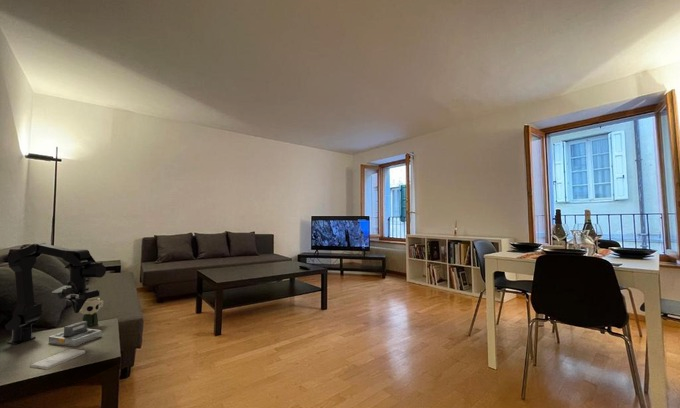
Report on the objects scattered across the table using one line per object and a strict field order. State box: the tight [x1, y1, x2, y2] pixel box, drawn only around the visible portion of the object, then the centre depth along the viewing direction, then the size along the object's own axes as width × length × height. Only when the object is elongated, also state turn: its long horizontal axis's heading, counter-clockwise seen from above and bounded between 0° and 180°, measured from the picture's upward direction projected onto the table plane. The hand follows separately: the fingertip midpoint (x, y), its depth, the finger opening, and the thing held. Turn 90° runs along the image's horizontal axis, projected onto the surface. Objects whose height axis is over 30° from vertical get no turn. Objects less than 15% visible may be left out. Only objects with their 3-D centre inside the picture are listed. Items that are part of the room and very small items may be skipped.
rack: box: [48, 328, 102, 348], centre depth 124 cm, size 15×11×3 cm
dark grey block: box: [63, 320, 88, 338], centre depth 125 cm, size 3×7×6 cm, turn 166°
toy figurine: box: [78, 297, 104, 328], centre depth 141 cm, size 11×7×13 cm, turn 156°
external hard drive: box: [29, 348, 86, 370], centre depth 107 cm, size 2×8×12 cm
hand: (76, 312), depth 125 cm, fingers closed
